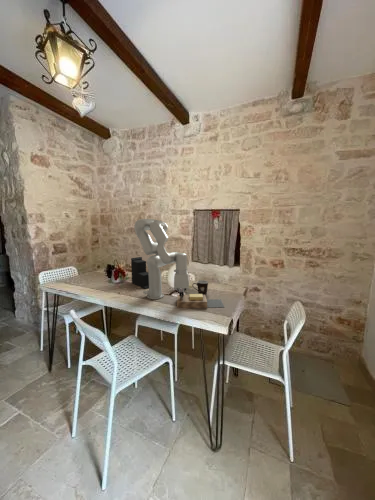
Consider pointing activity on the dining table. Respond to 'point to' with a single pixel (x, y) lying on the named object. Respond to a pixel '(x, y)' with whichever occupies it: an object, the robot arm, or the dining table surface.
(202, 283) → the coffee mug
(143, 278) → the bookend
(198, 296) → the yellow flat block
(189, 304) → the brown flat block
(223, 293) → the dining table surface
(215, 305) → the mat
